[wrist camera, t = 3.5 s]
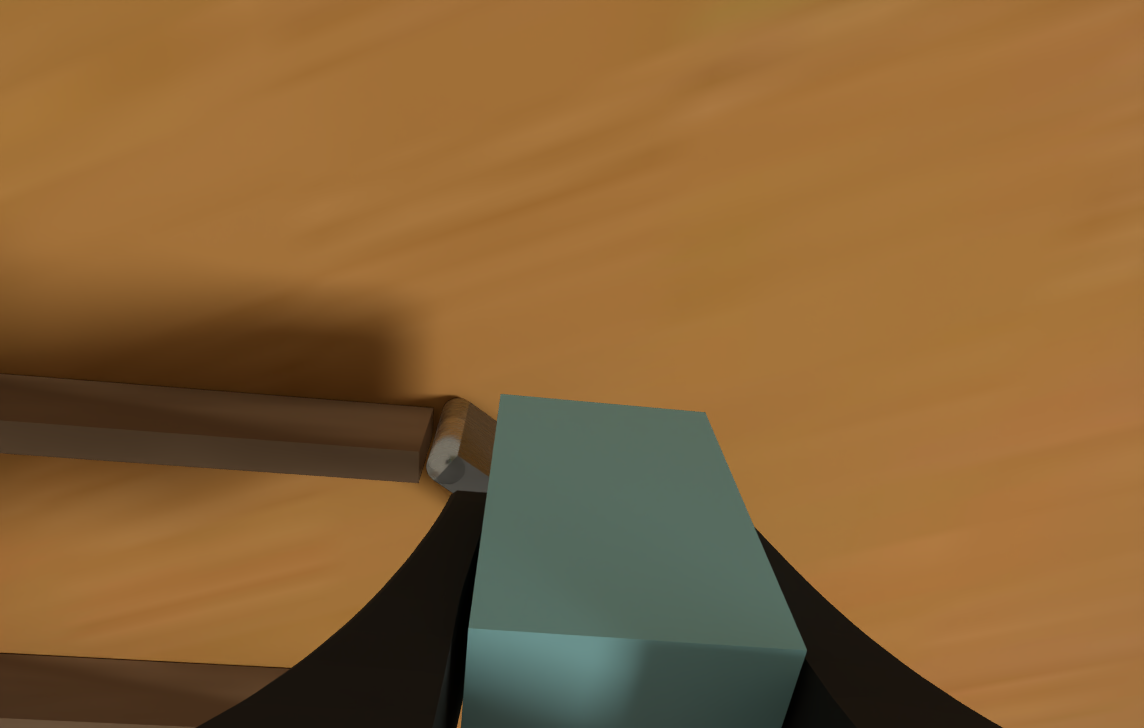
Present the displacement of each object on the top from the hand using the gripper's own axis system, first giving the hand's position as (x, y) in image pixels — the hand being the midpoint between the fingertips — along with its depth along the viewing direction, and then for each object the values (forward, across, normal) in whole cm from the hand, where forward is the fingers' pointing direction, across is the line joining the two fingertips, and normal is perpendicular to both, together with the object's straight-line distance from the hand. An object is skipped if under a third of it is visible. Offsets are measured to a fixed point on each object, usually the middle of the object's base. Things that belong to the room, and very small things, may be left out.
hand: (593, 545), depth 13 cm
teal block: (+2, 0, 0) cm, 2 cm away
